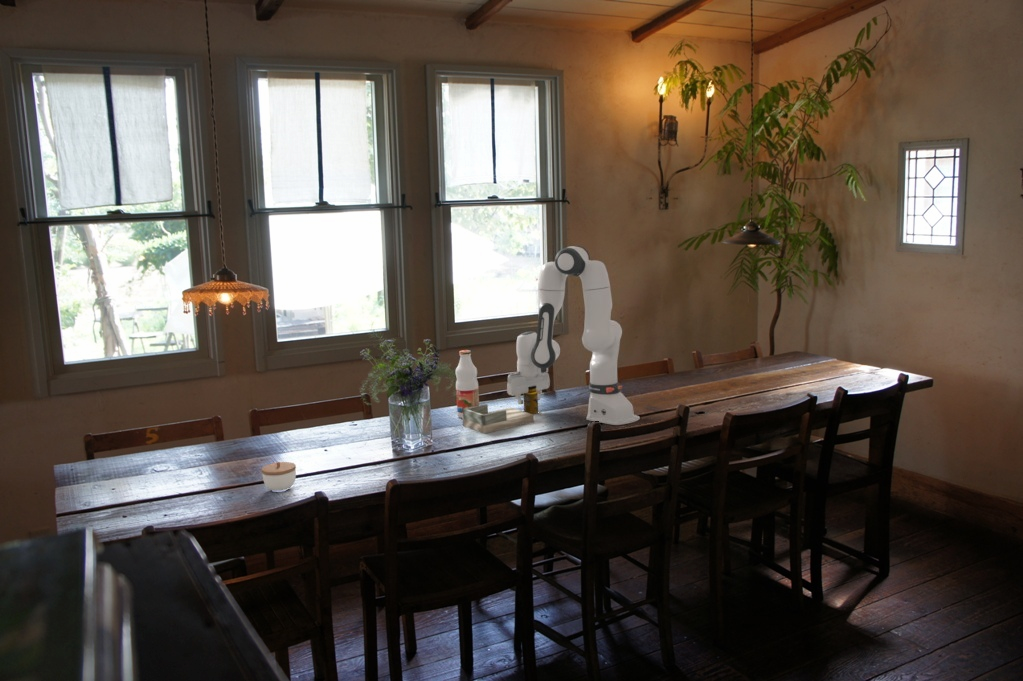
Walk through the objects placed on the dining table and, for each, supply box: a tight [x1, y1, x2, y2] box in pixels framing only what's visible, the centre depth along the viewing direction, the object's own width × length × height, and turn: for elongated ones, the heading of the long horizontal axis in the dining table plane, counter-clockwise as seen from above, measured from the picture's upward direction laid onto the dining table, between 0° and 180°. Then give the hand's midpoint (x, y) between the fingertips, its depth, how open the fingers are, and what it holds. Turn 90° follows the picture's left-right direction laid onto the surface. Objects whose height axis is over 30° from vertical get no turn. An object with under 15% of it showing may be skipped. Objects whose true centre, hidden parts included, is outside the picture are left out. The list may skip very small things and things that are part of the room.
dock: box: [461, 403, 535, 434], centre depth 345 cm, size 16×24×7 cm, turn 126°
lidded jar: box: [261, 461, 297, 491], centre depth 278 cm, size 11×11×9 cm
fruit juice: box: [454, 349, 480, 419], centre depth 358 cm, size 9×9×28 cm
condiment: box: [522, 386, 542, 416], centre depth 359 cm, size 7×8×12 cm
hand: (529, 402), depth 359 cm, fingers open, 7 cm apart
